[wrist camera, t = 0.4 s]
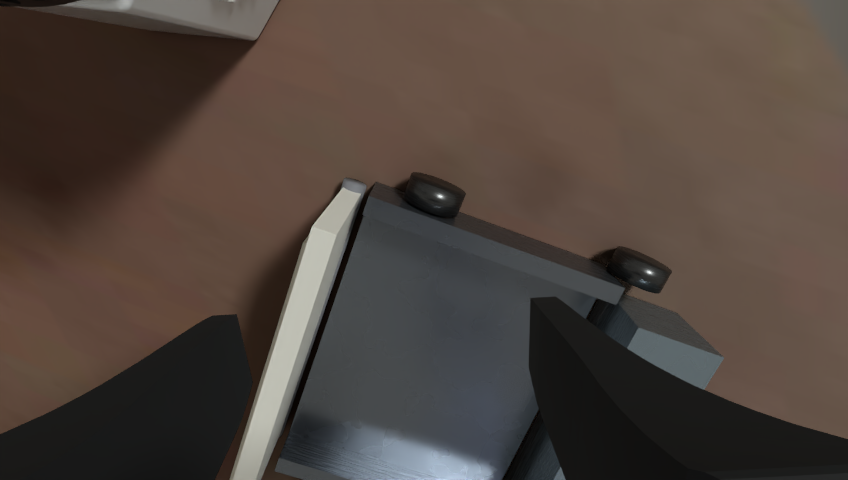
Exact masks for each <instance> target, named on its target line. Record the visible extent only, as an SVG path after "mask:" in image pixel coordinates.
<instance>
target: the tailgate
mask: <svg viewBox="0 0 848 480" xmlns="http://www.w3.org/2000/svg"><path fill="white" fill-rule="evenodd" d="M366 187H367V186H366V184H364V183H362V182H360V181H358V180H355V179H351V178H344V181H343V184H342V187H341V190H340V192H339V193H338V194H337V196H336V197H335V198H334V199H333V201H332V202H331V203H330V204H329V206H328V207H327V208H326V209H325V211H324V212H323V213H322V214H321V216H320V217H319V218H318V219H317V221H316V222H315V223H314V224H313V226H312V228H311V231H310V234H309V235H308V237H307V238H306V239H305V241H304V242H303V244H302V248H301V251H300V254H299V257H298V260H297V264H296V267H295V270H294V273H293V277H292V280H291V283H290V286H289V289H288V293H287V296H286V299H285V302H284V306H283V309H282V312H281V315H280V318H279V322H278V325H277V328H276V331H275V335H274V338H273V341H272V344H271V348H270V351H269V354H268V357H267V360H266V364H265V367H264V370H263V373H262V377H261V380H260V383H259V386H258V389H257V393H256V396H255V399H254V402H253V406H252V409H251V412H250V415H249V418H248V422H247V425H246V428H245V431H244V435H243V438H242V441H241V444H240V448H239V451H238V454H237V457H236V460H235V464H234V467H233V470H232V473H231V477H230V480H261V478H262V476H263V473H264V471H265V469H266V466H267V464H268V462H269V459H270V457H271V454H272V452H273V450H274V447H275V445H276V443H277V440H278V438H279V437H281V436H282V434H283V431H284V429H285V426H286V423H287V420H288V417H289V414H290V411H291V408H292V405H293V402H294V399H295V396H296V393H297V390H298V387H299V384H300V381H301V378H302V375H303V372H304V370H305V367H306V364H307V361H308V358H309V355H310V352H311V349H312V346H313V343H314V340H315V337H316V334H317V331H318V328H319V325H320V322H321V319H322V316H323V313H324V311H325V308H326V305H327V302H328V299H329V296H330V293H331V290H332V287H333V284H334V281H335V278H336V275H337V272H338V269H339V266H340V263H341V260H342V257H343V254H344V252H345V249H346V246H347V243H348V240H349V237H350V234H351V231H352V228H353V225H354V222H355V219H356V216H357V213H358V210H359V207H360V204H361V201H362V198H363V196H364V193H365V190H366Z"/></svg>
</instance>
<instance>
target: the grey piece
mask: <svg viewBox="0 0 848 480" xmlns="http://www.w3.org/2000/svg"><path fill="white" fill-rule="evenodd" d="M465 195H466V193H465V192H464V191H463V190H462V189H460V188H459V187H457V186H455V185H453V184H451V183H449V182H447V181H444V180H442V179H439V178H436V177H433V176H430V175H427V174H423V173H417V172H413V173H412V174H411V176H410V179H409V182H408V185H407V187H406V190H405V192H403V191H400V190H397V189H395V188H392V187H389V186H386V185H384V184H381V183H378V182H376V183H375V185H374V187H373V189H372V191H371V193H370V195H369V197H368V200H367V203H366V205H365V208H364V211H363V214H362V215H364V216H363V219H362V222H361V225H360V228H359V231H358V234H357V237H356V239H355V242H354V245H353V248H352V251H351V254H350V257H349V260H348V263H347V266H346V269H345V271H344V274H343V277H342V280H341V283H340V286H339V289H338V292H337V295H336V298H335V301H334V303H333V306H332V309H331V312H330V315H329V318H328V321H327V324H326V327H325V330H324V333H323V335H322V338H321V341H320V344H319V347H318V350H317V353H316V356H315V359H314V362H313V365H312V368H311V370H310V373H309V376H308V379H307V382H306V385H305V388H304V391H303V394H302V397H301V400H300V402H299V405H298V408H297V411H296V414H295V417H294V420H293V423H292V426H291V429H290V432H289V434H288V437H287V439H286V442H285V444H284V447H283V449H282V452H281V454H280V457H279V459H278V462H277V465H276V468H275V471H276V472H279V473H283V474H286V475H289V476H293V477H296V478H299V479H303V480H502V479H503V477H504V475H505V473H506V471H507V469H508V467H509V465H510V463H511V461H512V460H513V458H514V456H515V454H516V452H517V450H518V448H519V446H520V444H521V442H522V440H523V438H524V436H525V435H526V433H527V431H528V429H529V427H530V425H531V423H532V421H533V419H534V417H535V415H536V413H537V411H538V410H539V408H538V405H537V401H536V397H535V393H534V389H533V385H532V380H531V376H530V371H529V333H530V298H537V297H554V296H556V297H557V298H559V299H560V300H561V301H563V302H564V303H565V304H567V305H568V306H569V307H571V308H572V309H573V310H575V311H576V312H577V313H578V314H580V315H581V316H582V317H584V318H585V319H586V317H587V315H588V313H589V312H590V310H591V308H592V306H593V304H594V302H595V300H596V298H598V301H597V303H596V304H595V306H594V308H593V310H592V312H591V314H590V316H589V318H588V321H589V322H590V323H592V324H593V325H594V326H596V327H597V328H598V329H600V330H601V331H602V332H604V333H605V334H607V335H608V336H609V337H611V338H612V339H614V340H615V341H617V342H618V343H620V344H621V345H623V346H624V347H626V348H627V349H629V350H631V351H632V352H634V353H635V354H637V355H638V356H640V357H642V358H643V359H645V360H647V361H648V362H650V363H652V364H654V365H655V366H657V367H659V368H661V369H663V370H665V371H667V372H668V373H670V374H672V375H674V376H676V377H678V378H680V379H682V380H684V381H686V382H688V383H690V384H692V385H694V386H696V387H698V388H701V389H703V390H704V389H705V387H706V386H707V384H708V382H709V381H710V379H711V378H712V376H713V375H714V373H715V371H716V370H717V368H718V367H719V365H720V363H721V362H722V360H723V359H724V357H723V356H722V355H721V354H720V353H719V352H718V351H717V350H716V349H714V348H713V347H712V346H711V345H710V344H709V343H708V342H707V341H706V340H705V339H704V338H703V337H702V336H701V335H700V334H699V333H698V332H696V331H695V330H694V329H693V328H692V327H691V326H690V325H689V324H688V323H687V322H686V321H685V320H684V319H683V318H682V317H681V316H680V315H679V314H677V313H676V312H673V311H670V310H667V309H664V308H662V307H659V306H656V305H653V304H650V303H648V302H645V301H642V300H639V299H637V298H634V297H631V296H628V295H625V294H623V292H624V290H625V287H624V286H623V285H622V284H621V283H620V282H619V281H618V280H617V279H616V278H615V277H614V276H613V275H612V274H614V275H615V276H617V277H618V278H620V279H622V280H623V281H625V282H627V283H629V284H631V285H633V286H635V287H638V288H640V289H643V290H645V291H649V292H652V293H660V292H661V290H662V289H663V287H664V285H665V283H666V281H667V280H668V278H669V276H670V274H671V273H672V271H671V270H670V269H669V268H668V267H666V266H665V265H663V264H662V263H660V262H658V261H656V260H655V259H653V258H651V257H648V256H646V255H644V254H642V253H640V252H637V251H634V250H632V249H629V248H625V247H621V246H618V247H617V248H616V250H615V252H614V254H613V256H612V258H611V260H610V262H609V264H608V266H607V268H606V267H605V266H604V265H603V264H601V263H598V262H596V261H593V260H590V259H587V258H585V257H582V256H579V255H576V254H574V253H571V252H568V251H565V250H563V249H560V248H557V247H554V246H552V245H549V244H546V243H543V242H541V241H538V240H535V239H532V238H530V237H527V236H524V235H521V234H518V233H516V232H513V231H510V230H507V229H505V228H502V227H499V226H496V225H494V224H491V223H488V222H485V221H483V220H480V219H477V218H474V217H472V216H469V215H466V214H463V213H461V212H459V210H460V207H461V205H462V202H463V200H464V197H465ZM611 273H612V274H611ZM504 480H566V479H565V477H564V474H563V471H562V469H561V466H560V464H559V461H558V458H557V456H556V453H555V450H554V448H553V445H552V442H551V440H550V437H549V435H548V432H547V429H546V427H545V424H544V421H543V418H542V416H541V413H540V412H539V414H538V416H537V417H536V419H535V421H534V423H533V425H532V427H531V429H530V431H529V433H528V435H527V437H526V439H525V440H524V442H523V444H522V446H521V448H520V450H519V452H518V454H517V456H516V458H515V460H514V462H513V463H512V465H511V467H510V469H509V471H508V473H507V475H506V477H505V479H504Z"/></svg>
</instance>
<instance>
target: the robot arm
mask: <svg viewBox="0 0 848 480" xmlns="http://www.w3.org/2000/svg"><path fill="white" fill-rule="evenodd" d="M529 371H530V376H531V380H532V385H533V389H534V393H535V397H536V401H537V405H538V408H539V410H540V413H541V416H542V418H543V421H544V424H545V427H546V429H547V432H548V435H549V437H550V440H551V442H552V445H553V448H554V450H555V453H556V456H557V458H558V461H559V464H560V466H561V469H562V471H563V474H564V477H565V479H566V480H848V439H845V438H841V437H838V436H834V435H831V434H827V433H824V432H820V431H817V430H813V429H810V428H806V427H802V426H799V425H796V424H792V423H789V422H786V421H783V420H780V419H778V418H775V417H772V416H769V415H766V414H763V413H760V412H757V411H754V410H752V409H749V408H747V407H744V406H741V405H739V404H736V403H734V402H731V401H729V400H726V399H724V398H722V397H719V396H717V395H715V394H712V393H710V392H708V391H705V390H703V389H701V388H698V387H696V386H694V385H692V384H690V383H688V382H686V381H684V380H682V379H680V378H678V377H676V376H674V375H672V374H670V373H668V372H667V371H665V370H663V369H661V368H659V367H657V366H655V365H654V364H652V363H650V362H648V361H647V360H645V359H643V358H642V357H640V356H638V355H637V354H635V353H634V352H632V351H631V350H629V349H627V348H626V347H624V346H623V345H621V344H620V343H618V342H617V341H615V340H614V339H612V338H611V337H609V336H608V335H607V334H605V333H604V332H602V331H601V330H600V329H598V328H597V327H596V326H594V325H593V324H592V323H590V322H589V321H588V320H586V319H585V318H584V317H582V316H581V315H580V314H578V313H577V312H576V311H575V310H573V309H572V308H571V307H569V306H568V305H567V304H565V303H564V302H563V301H561V300H560V299H559V298H557V297H556V296H554V297H537V298H530V333H529ZM252 383H253V381H252V377H251V373H250V369H249V365H248V360H247V356H246V352H245V348H244V343H243V339H242V335H241V331H240V327H239V322H238V318H237V314H235V315H217V316H211V317H209V318H207V319H205V320H203V321H201V322H200V323H198V324H196V325H195V326H193V327H192V328H190V329H188V330H187V331H185V332H184V333H182V334H181V335H179V336H178V337H176V338H175V339H173V340H172V341H170V342H169V343H167V344H166V345H164V346H163V347H161V348H159V349H158V350H156V351H155V352H153V353H152V354H150V355H149V356H147V357H146V358H144V359H143V360H141V361H139V362H138V363H136V364H134V365H133V366H131V367H130V368H128V369H126V370H125V371H123V372H121V373H120V374H118V375H116V376H115V377H113V378H111V379H110V380H108V381H107V382H105V383H103V384H102V385H100V386H98V387H96V388H95V389H93V390H91V391H89V392H87V393H86V394H84V395H82V396H80V397H78V398H76V399H74V400H72V401H70V402H68V403H66V404H65V405H63V406H61V407H59V408H57V409H55V410H53V411H51V412H49V413H47V414H45V415H43V416H40V417H38V418H36V419H34V420H31V421H29V422H27V423H25V424H22V425H20V426H18V427H16V428H13V429H11V430H9V431H7V432H4V433H2V434H0V480H215V478H216V475H217V473H218V471H219V469H220V467H221V465H222V462H223V460H224V458H225V456H226V454H227V452H228V449H229V447H230V445H231V443H232V440H233V438H234V436H235V434H236V432H237V429H238V427H239V425H240V422H241V420H242V417H243V414H244V411H245V408H246V405H247V401H248V398H249V394H250V390H251V387H252Z"/></svg>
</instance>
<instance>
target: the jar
mask: <svg viewBox="0 0 848 480" xmlns="http://www.w3.org/2000/svg"><path fill="white" fill-rule="evenodd" d="M278 2H279V0H0V6H6V7H17V8H23V9H29V10H35V11H40V12H46V13H52V14H58V15H64V16H69V17H75V18H81V19H87V20H92V21H98V22H104V23H110V24H115V25H121V26H127V27H133V28H138V29H144V30H152V31H162V32H172V33H182V34H192V35H201V36H211V37H221V38H231V39H241V40H250V41H253V40H256V39H257V38H258V37H259V35H260V34H261V32H262V30H263V28H264V26H265V25H266V23H267V21H268V19H269V18H270V16H271V14H272V12H273V11H274V9H275V7H276V5H277V4H278Z"/></svg>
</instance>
